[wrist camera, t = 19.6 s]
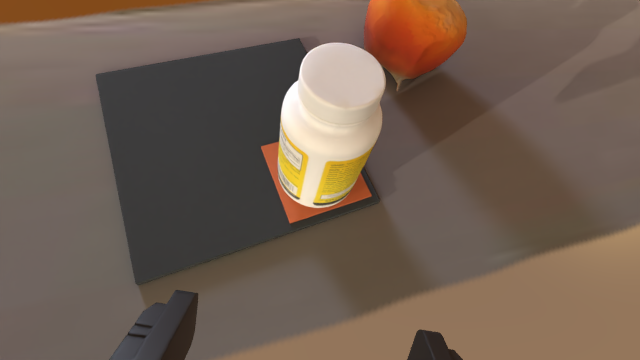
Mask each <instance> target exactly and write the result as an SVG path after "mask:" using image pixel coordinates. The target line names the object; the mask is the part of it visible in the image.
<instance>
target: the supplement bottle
mask: <svg viewBox="0 0 640 360" xmlns="http://www.w3.org/2000/svg"><path fill="white" fill-rule="evenodd" d="M385 85H386V78H385V73H384V71H383V68H382V67H381V65H380V63H379V62H378V61H377V60H376V59H375V58H374V57H373V56H372V55H371V54H370V53H368V52H367V51H365V50H363V49H361V48H359V47H356V46H354V45H351V44H346V43H328V44H323V45H320V46H318V47H316V48H314V49H312V50H311V51H310V52H309V53H308V54H307V55H306V56H305V57H304V59H303V61H302V64H301V67H300V73H299V79H298V81H297V82H295V83H294V84H293V85H292V86H291V87H290V89H289V90H288V92H287V93H286V96H285V98H284V101H283V105H282V110H281V123H280V138H279V153H278V177H279V181H280V184H281V186H282V188H283V189H284V191H285V192H286V193H287V195H288V196H289V197H291V198H292V199H293V200H294V201H296V202H298V203H300V204H302V205H304V206H308V207H313V208H324V207H330V206H333V205H335V204H337V203H339V202H341V201H342V200H343V199H344V198H345V197H346V196H347V195H348V194H349V193H350V191H351V190H352V188H353V186H354V184H355V182H356V180H357V178H358V176H359V174H360V172H361V170H362V168H363V166H364V164H365V162H366V160H367V159H368V157H369V154H370V153H371V151H372V148H373V147H374V145H375V143H376V141H377V138H378V136H379V134H380V131H381V127H382V110H381V107H380V104H379V103H380V100H381V97H382V95H383V93H384V90H385Z"/></svg>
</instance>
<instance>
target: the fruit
mask: <svg viewBox="0 0 640 360" xmlns="http://www.w3.org/2000/svg"><path fill="white" fill-rule="evenodd" d="M466 28H467V20H466V17H465V14H464V12H463V10H462V9H461V7H460V5H459V4H458V2H457V1H455V0H371V1H370V3H369V5H368V10H367V15H366V20H365V26H364V50H365V51H367V52H368V53H370V54H371V55H372V56H373V57H374V58H375V59H376V60H377V61H378V62H379V63H380V65H381V66H383V67H384V68H385V69H387V70H388V71H389V72H390V73H391V75H392V76H393V77H394V79H395V81H396V82H397V90H396V91H398V90H399V87H400V84H401V81H402V80H404V79H414V78H416V77H418V76H420V75H422V74H424V73H427V72H429V71H431V70H433V69H435V68H436V67H438V66H439V65H441V64H442V63H443V62H445V61H446V60H447V59H448V58H449V57H450V56H451V55H452V54H453V53H454V52H455V51H456V50H457V49H458V48H459V47H460V46H461V45H462V43H463V42H464V39H465V36H466Z"/></svg>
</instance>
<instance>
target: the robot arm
mask: <svg viewBox="0 0 640 360" xmlns="http://www.w3.org/2000/svg"><path fill="white" fill-rule="evenodd" d="M197 305H198V293H193V292H186V291H180V290H176V291H175V292H174V293H173V295H172V297H171V298H170V300H169V301H168V303H167V304H162V303H155V304H154V305H152V306H151V307H149V308H148V309H146V310H145V311H143V313H142V314H141V315H140V317H139V318H138V320H137V321H136V323H135V325H134V326H133V327H132V328H131V330H130V331H129V332H128V335H127V336H126V337H125V338H124V339H123V341H122V342H121V344H120V345H119V347H118V348H117V349H116V351H115V352H114V354H113V355H112V356H111V358H110V359H109V360H184V359H185V357H186V355H187V353H188V350H189V348H190V346H191V343H192V340H193V336H194V332H195V324H196V315H197ZM407 360H463V359H462V358H461V357H460V356H459V355H458V354H457V353H456V352H455V351H454V350H451V349H448V347H447V345H446V343H445V341H444V338H443V336H442V335H441V334H440V333H438V332H432V331H426V330H418V331H417V333H416V336H415V339H414V342H413V345H412V347H411V351H410V354H409V356H408V359H407Z"/></svg>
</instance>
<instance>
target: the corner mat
mask: <svg viewBox="0 0 640 360" xmlns="http://www.w3.org/2000/svg"><path fill="white" fill-rule="evenodd" d="M306 55H307V53H306V51H305V49H304V47H303V45H302V43H301V41H300V39H299V38H298V39H292V40H287V41H281V42H275V43H270V44H264V45H258V46H253V47H247V48H241V49H236V50H230V51H225V52H219V53H213V54H208V55H202V56H196V57H191V58H185V59H180V60H174V61H168V62H163V63H157V64H151V65H146V66H140V67H134V68H129V69H123V70H118V71H112V72H106V73H101V74H96V80H97V85H98V90H99V96H100V101H101V106H102V111H103V116H104V122H105V127H106V132H107V137H108V142H109V148H110V153H111V158H112V163H113V169H114V174H115V179H116V184H117V189H118V195H119V200H120V205H121V210H122V215H123V221H124V226H125V231H126V236H127V242H128V247H129V252H130V257H131V262H132V268H133V273H134V278H135V283H136V284H137V285H140V284H143V283H146V282H149V281H152V280H155V279H158V278H160V277H163V276H166V275H169V274H172V273H175V272H178V271H181V270H184V269H187V268H190V267H193V266H196V265H198V264H201V263H204V262H207V261H210V260H213V259H216V258H219V257H222V256H225V255H228V254H231V253H233V252H236V251H239V250H242V249H245V248H248V247H251V246H254V245H257V244H260V243H263V242H266V241H268V240H271V239H274V238H277V237H280V236H283V235H286V234H289V233H292V232H295V231H298V230H301V229H304V228H306V227H309V226H312V225H315V224H318V223H321V222H324V221H327V220H330V219H333V218H336V217H339V216H341V215H344V214H347V213H350V212H353V211H356V210H359V209H362V208H365V207H368V206H371V205H374V204H376V203H379V201H380V200H379V198H378V196H377V194H376V192H375V190H374V188H373V186H372V184H371V182H370V180H369V178H368V175H367V173H366V171H365V169H364V167H363V168H362V170H361V172H360V174H359V176H358V178H357V180H356V182H355V184H354V186H353V188H352V190H351V191H350V193H349V194H348V195H347V196H346V197H345V198H344V199H343V200H342V201H341V202H339V203H337V204H335V205H333V206H330V207H324V208H313V207H308V206H304V205H302V204H300V203H298V202H296V201H294V200H293V199H292V198H291V197H289V196H288V195H287V193H286V192H285V191H284V189H283V188H282V186H281V184H280V181H279V177H278V153H279V138H280V123H281V110H282V105H283V101H284V98H285V96H286V93H287V92H288V90H289V89H290V87H291V86H292V85H293V84H294V83H295V82H297V81H298V79H299V73H300V67H301V64H302V61H303V59H304V57H305V56H306Z"/></svg>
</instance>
